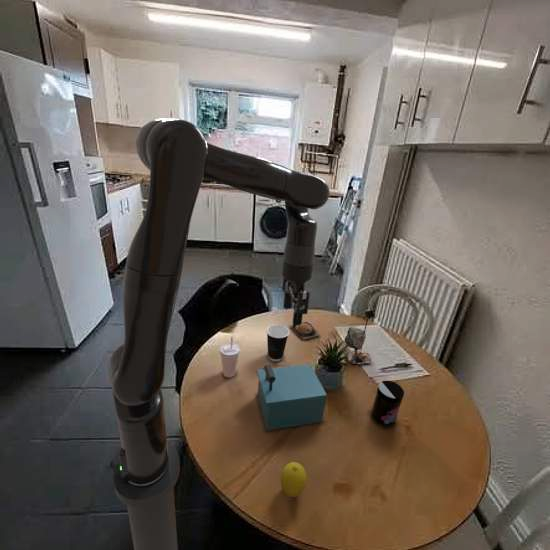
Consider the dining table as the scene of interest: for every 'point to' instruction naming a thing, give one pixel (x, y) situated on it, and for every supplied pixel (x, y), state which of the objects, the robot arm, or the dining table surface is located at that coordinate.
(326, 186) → the robot arm
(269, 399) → the lid
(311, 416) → the teal lidded box
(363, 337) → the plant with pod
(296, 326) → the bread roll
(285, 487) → the lemon
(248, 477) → the dining table surface
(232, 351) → the smoothie
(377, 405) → the supplement container
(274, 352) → the dixie cup
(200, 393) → the dining table surface
